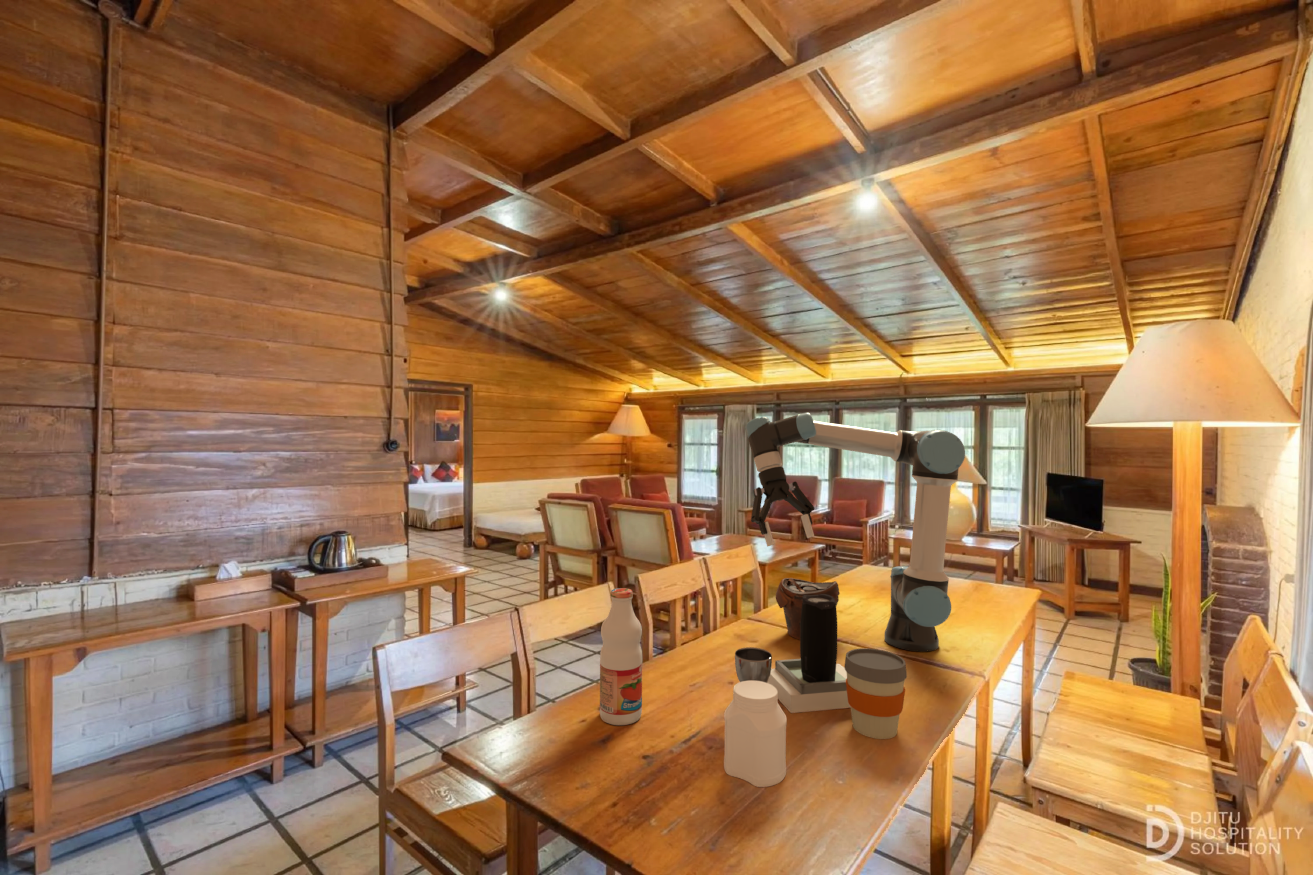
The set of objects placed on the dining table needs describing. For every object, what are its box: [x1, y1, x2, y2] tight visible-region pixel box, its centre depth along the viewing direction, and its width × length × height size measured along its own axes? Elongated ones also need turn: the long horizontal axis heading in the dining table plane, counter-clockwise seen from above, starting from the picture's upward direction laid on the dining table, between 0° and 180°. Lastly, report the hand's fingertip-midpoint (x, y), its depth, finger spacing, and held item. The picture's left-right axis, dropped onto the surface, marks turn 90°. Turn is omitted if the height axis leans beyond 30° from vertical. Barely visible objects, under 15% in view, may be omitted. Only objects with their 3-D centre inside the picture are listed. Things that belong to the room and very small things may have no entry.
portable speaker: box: [799, 594, 838, 683], centre depth 140 cm, size 9×9×20 cm
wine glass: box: [734, 646, 773, 683], centre depth 127 cm, size 8×8×15 cm
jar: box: [723, 680, 788, 788], centre depth 109 cm, size 12×10×15 cm
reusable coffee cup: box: [843, 648, 908, 740], centre depth 125 cm, size 13×13×15 cm
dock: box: [767, 658, 851, 714], centre depth 141 cm, size 25×15×6 cm, turn 101°
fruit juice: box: [599, 587, 643, 726], centre depth 130 cm, size 9×9×28 cm
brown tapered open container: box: [775, 577, 841, 641], centre depth 184 cm, size 18×20×18 cm
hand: (791, 541), depth 164 cm, fingers open, 13 cm apart
